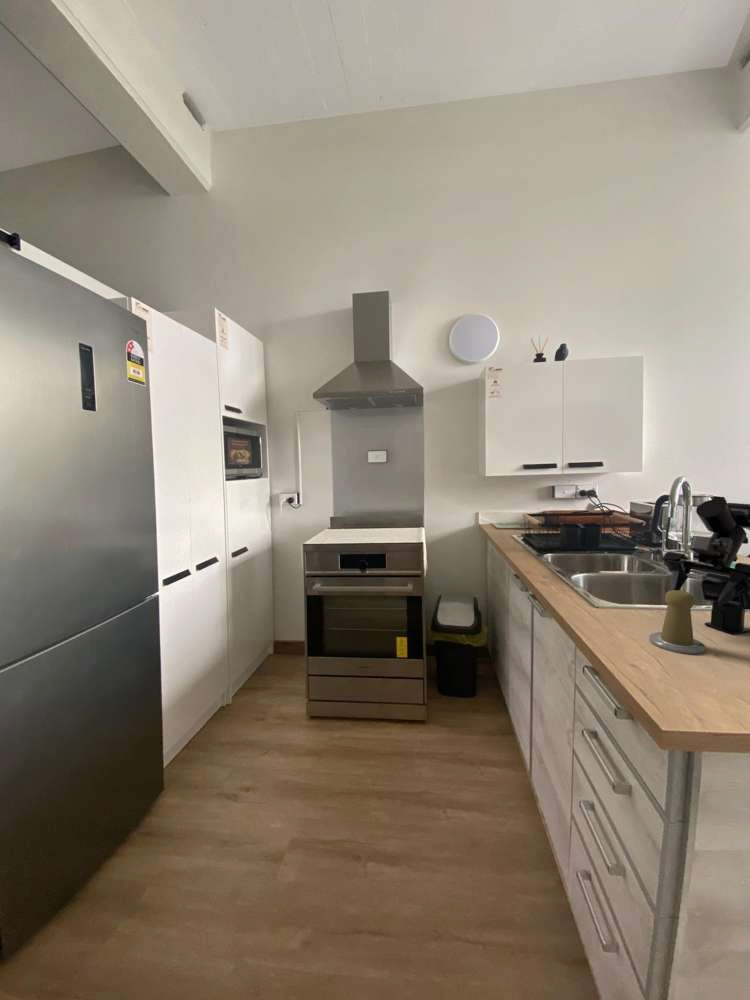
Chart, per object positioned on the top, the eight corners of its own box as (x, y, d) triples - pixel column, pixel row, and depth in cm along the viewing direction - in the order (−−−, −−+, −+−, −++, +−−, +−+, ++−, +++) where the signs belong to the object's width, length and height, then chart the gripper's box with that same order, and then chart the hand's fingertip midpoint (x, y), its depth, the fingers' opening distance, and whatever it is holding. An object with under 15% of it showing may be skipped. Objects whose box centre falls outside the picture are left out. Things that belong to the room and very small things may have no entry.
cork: (701, 645, 92) (704, 595, 91) (675, 646, 91) (678, 596, 90) (677, 634, 98) (680, 587, 97) (653, 635, 97) (656, 588, 96)
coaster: (672, 633, 100) (672, 630, 100) (716, 651, 91) (716, 647, 91) (638, 638, 98) (638, 634, 98) (680, 656, 88) (680, 652, 88)
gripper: (668, 519, 106) (639, 567, 102) (763, 528, 89) (733, 587, 85) (684, 547, 110) (657, 595, 106) (778, 561, 93) (750, 619, 89)
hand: (695, 598), depth 96 cm, fingers open, 9 cm apart
